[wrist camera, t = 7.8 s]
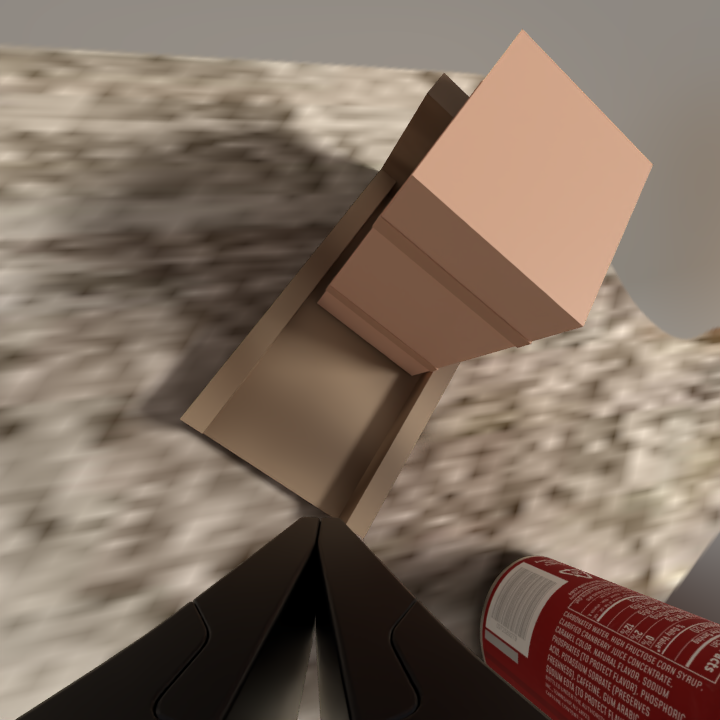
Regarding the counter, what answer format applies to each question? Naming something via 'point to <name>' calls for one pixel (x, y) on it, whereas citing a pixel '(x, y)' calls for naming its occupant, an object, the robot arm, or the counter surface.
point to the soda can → (598, 647)
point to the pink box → (495, 223)
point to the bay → (330, 367)
